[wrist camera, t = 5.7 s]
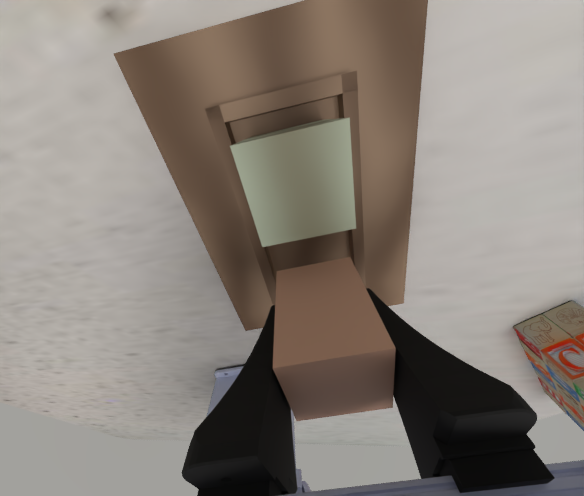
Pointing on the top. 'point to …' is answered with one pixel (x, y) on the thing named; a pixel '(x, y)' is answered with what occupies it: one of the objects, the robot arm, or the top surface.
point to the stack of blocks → (558, 355)
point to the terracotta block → (330, 342)
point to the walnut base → (275, 96)
